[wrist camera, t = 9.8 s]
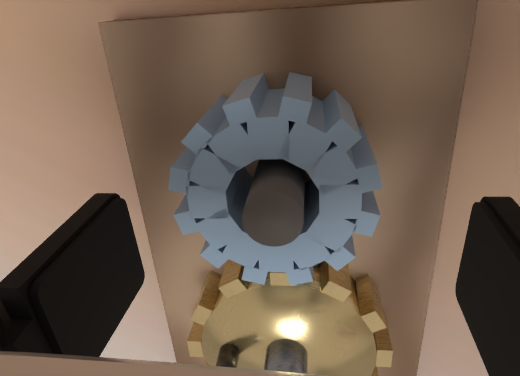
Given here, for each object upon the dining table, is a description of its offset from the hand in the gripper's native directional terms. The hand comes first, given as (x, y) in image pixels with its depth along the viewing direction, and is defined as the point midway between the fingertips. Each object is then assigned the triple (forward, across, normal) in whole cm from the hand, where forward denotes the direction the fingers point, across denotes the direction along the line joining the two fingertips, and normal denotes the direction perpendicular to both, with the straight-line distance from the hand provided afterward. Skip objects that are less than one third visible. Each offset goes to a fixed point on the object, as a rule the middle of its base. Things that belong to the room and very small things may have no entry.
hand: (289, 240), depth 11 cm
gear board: (+8, +1, +6) cm, 10 cm away
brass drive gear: (+7, +1, +10) cm, 12 cm away
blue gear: (+7, +1, 0) cm, 7 cm away
